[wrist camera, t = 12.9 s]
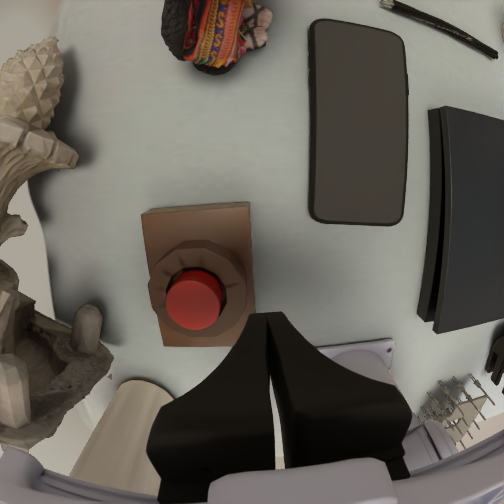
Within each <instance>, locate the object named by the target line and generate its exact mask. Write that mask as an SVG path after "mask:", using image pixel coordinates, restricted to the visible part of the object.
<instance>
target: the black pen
mask: <svg viewBox="0 0 504 504" xmlns="http://www.w3.org/2000/svg"><path fill="white" fill-rule="evenodd" d="M387 1H389V2H387ZM387 1H384V0H381V2H383V3H386V4H388V5H386V4H383V3H381V5H382V6H386V7H388V8H391V10H394V11H397V12H400V13H403V14H406V15H408V16H411V17H413V18H416V19H419V20H421V21H423V22H425V23H428V24H430V25H432V26H434V27H436V28H438V29H440V30H442V31H444V32H446V33H448V34H450V35H452V36H454V37H456V38H458V39H460V40H462V41H464V42H466V43H468V44H470V45H471V46H473V47H475V48H477V49H479V50H481V51H482V52H484V53H485V54H487V55H488V56H490V57H491V58H493V59H495V58H496V59H498V52H497V51H495V50H494V49H492V48H491V47H489V46H487V45H485V44H483V43H482V42H480V41H478V40H477V39H475V38H474V37H472V36H471V35H469V34H467V33H466V32H464V31H462V30H460V29H459V28H457V27H455V26H453V25H451V24H449V23H447V22H445V21H443V20H441V19H438V18H436V17H434V16H431V15H429V14H426V13H424V12H421V11H419V10H417V9H415V8H413V7H410V6H408V5H406V4H403V3H401V2H398V1H396V0H387ZM391 2H392V3H391ZM389 5H390V6H389Z"/></svg>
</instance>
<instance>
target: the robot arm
mask: <svg viewBox="0 0 504 504" xmlns="http://www.w3.org/2000/svg"><path fill="white" fill-rule="evenodd" d="M394 347H395V342H394V340H393V339H385V340H378V341H371V342H364V343H356V344H348V345H340V346H330V347H321V348H315V347H314V346H313V345H312V344H310V343H309V342H308V341H307V340H306V339H305V338H304V337H303V336H302V335H301V334H300V333H299V332H298V331H297V329H296V328H295V327H294V326H293V325H292V324H291V322H290V321H289V320H288V319H287V317H286V316H285V314H284V313H283V312H282V311H280V312H267V313H253V314H250V315H249V316H248V318H247V321H246V324H245V326H244V328H243V331H242V332H241V334H240V336H239V338H238V340H237V341H236V343H235V345H234V346H233V348H232V349H231V350H230V352H229V353H228V355H227V356H226V357H225V359H224V360H223V361H222V362H221V363H220V365H219V366H218V367H217V368H216V369H215V370H214V371H213V372H212V373H211V374H210V375H209V376H208V377H207V378H206V379H204V380H203V381H202V382H201V383H200V384H198V385H197V386H196V387H194V388H193V389H191V390H190V391H188V392H187V393H185V394H184V395H182V396H180V397H178V398H177V399H175V400H173V401H171V402H169V403H167V404H165V405H163V406H161V408H160V410H159V412H158V414H157V416H156V418H155V420H154V422H153V424H152V427H151V430H150V434H149V437H148V441H147V445H146V453H147V456H148V458H149V460H150V462H151V463H152V465H153V467H154V468H155V470H156V472H157V473H158V475H159V476H160V478H161V482H160V487H159V492H158V496H155V495H148V494H141V493H135V492H129V491H124V490H119V489H114V488H110V487H105V486H101V485H97V484H93V483H89V482H85V481H82V480H78V479H75V478H71V477H68V476H65V475H62V474H59V473H55V472H53V471H50V470H47V469H44V468H43V466H42V465H41V463H40V462H39V461H38V460H37V459H36V458H35V457H34V456H32V455H31V454H29V453H27V452H24V451H22V450H19V449H17V448H14V447H12V446H7V448H6V450H5V452H4V453H3V455H2V457H1V459H0V504H498V503H500V502H501V501H502V500H504V430H502V431H500V432H498V433H497V434H495V435H493V436H491V437H489V438H487V439H485V440H483V441H481V442H479V443H478V444H475V445H474V446H471V447H469V448H467V449H465V450H463V451H461V452H458V450H457V448H456V446H455V444H454V442H453V441H452V439H451V437H450V435H449V434H448V432H447V431H446V429H445V428H444V426H443V425H442V424H441V422H439V421H432V420H431V419H428V420H426V421H425V422H423V426H424V428H425V430H426V432H427V434H428V437H427V435H426V433H425V431H424V430H423V428H422V426H421V424H420V423H419V421H418V419H417V417H416V415H415V414H414V413H412V411H411V409H410V407H409V405H408V403H407V401H406V400H405V398H404V397H403V395H402V393H401V392H400V390H399V388H398V386H397V384H396V383H395V381H394V379H393V377H392V376H391V374H390V372H389V369H390V365H391V361H392V356H393V352H394ZM388 348H390V349H389V350H387V349H388ZM270 377H271V381H272V386H273V390H274V395H275V399H276V404H277V408H278V413H279V418H280V424H281V433H282V443H283V453H284V463H285V469H280V470H275V436H274V423H273V413H272V407H271V400H270ZM428 438H429V439H428ZM429 440H430V441H429Z"/></svg>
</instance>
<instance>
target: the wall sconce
mask: <svg viewBox="0 0 504 504" xmlns="http://www.w3.org/2000/svg"><path fill="white" fill-rule="evenodd" d="M58 41H59V40H58V39H57V38H55V37H50V38H47V39H44V40H43V41H42V42H41V43H38V44H32V45H31V46H30V47H29V48H27V49H26V50H24V51H22V50H18V51H17V53H16V55H15V57H14V58H9V59H8V60H7V62H6V63H4V65H3V67H2V69H1V71H0V246H1V244H3V242H5V241H6V240H7V239H8V238H10V237H16V236H21V235H23V234H24V233H25V231H26V229H27V227H28V225H27V223H26V222H25V221H23V220H22V219H21V218H20V215H10V214H8V213H7V209H8V204H9V202H10V200H11V199H12V197H13V196H14V194H15V192H16V191H17V189H18V188H19V187H20V186H21V185H22V184H23V183H24V182H25V181H26V180H28V179H29V178H30V177H32V176H34V175H36V174H38V173H40V172H43V171H46V170H49V169H53V168H59V169H73V168H74V166H75V164H76V162H77V160H78V157H79V155H78V154H77V152H76V151H75V150H74V149H73V148H72V147H70V146H68V145H67V144H65V143H63V142H62V141H60V140H59V139H57V138H56V136H55V134H54V132H53V131H50V132H46V131H45V129H46V127H47V126H48V125H49V124H50V123H51V121H50V119H51V118H52V117H53V116H54V107H55V106H56V105H57V104H58V102H59V101H60V99H59V97H60V96H61V93H60V88H61V86H62V84H63V83H64V79H65V76H64V75H63V74H62V69H63V64H64V62H63V61H62V60H61V55H62V53H61V52H60V51H59V50H58V47H57V44H56V43H57V42H58ZM58 171H59V170H58ZM18 283H19V279H18V276H17V273H16V272H15V271H14V269H13V268H12V267H10V266H9V265H8V264H6V263H5V262H4V261H3V260H0V444H1V447H2V449H3V451H4V452H5V450H6V448H7V446H12V447H14V448H17V449H19V450H22V451H24V452H27V453H29V449H30V448H31V447H33V446H34V445H35V444H37V443H38V442H40V441H41V440H43V439H45V438H49V437H51V436H53V435H54V433H55V432H56V430H57V427H58V426H59V425H60V424H61V422H62V420H63V417H64V415H65V414H66V412H67V411H68V410H70V409H72V408H73V407H74V405H75V404H77V403H78V402H80V401H81V400H82V399H84V398H85V396H86V395H88V394H89V393H90V391H91V390H92V388H93V386H94V385H95V384H96V383H97V382H98V381H99V380H100V379H101V378H102V377H103V376H105V375H106V374H107V372H108V370H109V369H110V366H111V363H112V361H113V359H114V356H113V355H112V354H111V353H110V351H109V350H108V348H106V347H105V346H104V345H103V344H102V343H101V342H100V341H99V336H100V330H101V325H102V317H101V314H100V312H99V309H98V308H96V307H94V306H93V305H91V304H87V305H84V306H82V307H80V308H79V310H78V311H77V313H76V316H75V320H74V324H73V328H70V327H68V326H66V325H64V324H61V323H59V322H57V321H55V320H53V319H51V318H49V317H47V316H45V315H43V314H41V313H40V312H38V311H36V310H35V309H34V304H35V302H36V301H35V300H33V299H31V298H29V297H28V296H26V295H24V294H22V293H21V292H19V291H18ZM107 377H108V378H110V379H111V380H112V374H110V375H109V376H107Z"/></svg>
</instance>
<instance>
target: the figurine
mask: <svg viewBox="0 0 504 504" xmlns="http://www.w3.org/2000/svg"><path fill="white" fill-rule="evenodd" d="M253 3H254V0H165V3H164V9H163V13H162V27H161V35H162V37H163V39H164V41H165V44H166V45H167V46H168V47H169V50H170V51H171V52H172V54H173V55H174V56H175V57H176V58H177V59H178V60H181V61H186V60H187V61H190V62H192V63H193V65H194V66H195V67H196V68H197V69H198V70H200V71H202V72H205V73H207V74H211V75H218V74H224V73H226V72H228V71H229V70H230V69H231V68H233V67H234V65H235V64H236V62H237V61H238V60H239V59H240V58H241V57H242V56H243V55H244V53H245V51H253V50H256V49H259V48H261V47H264V46H265V45H266V41H267V36H268V35H267V33H266V31H265V30H266V29H267V28H268V27H269V26H270V24H271V21H272V14H273V13H272V12H271V11H270V9H267V8H265V7H263V6H261V5H257V4H253Z"/></svg>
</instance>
